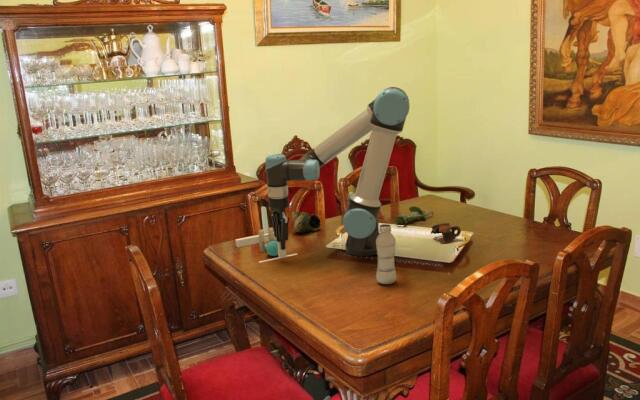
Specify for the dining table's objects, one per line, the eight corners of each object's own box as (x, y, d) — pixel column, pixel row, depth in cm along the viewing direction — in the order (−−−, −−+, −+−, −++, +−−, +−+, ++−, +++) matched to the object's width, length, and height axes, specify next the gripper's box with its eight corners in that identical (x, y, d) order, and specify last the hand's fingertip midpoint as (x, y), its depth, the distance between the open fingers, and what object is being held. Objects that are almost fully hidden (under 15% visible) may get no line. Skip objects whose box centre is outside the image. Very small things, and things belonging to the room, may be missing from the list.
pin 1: (266, 251, 225) (264, 229, 223) (263, 252, 224) (261, 231, 222) (262, 250, 227) (260, 229, 224) (259, 251, 225) (257, 230, 223)
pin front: (273, 248, 223) (265, 243, 231) (269, 247, 222) (260, 242, 230) (272, 253, 223) (263, 247, 231) (267, 252, 222) (259, 246, 230)
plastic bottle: (374, 280, 190) (372, 223, 185) (394, 278, 190) (393, 222, 186) (378, 287, 184) (376, 229, 179) (398, 285, 184) (397, 227, 179)
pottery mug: (432, 245, 223) (428, 225, 225) (435, 248, 232) (431, 229, 234) (462, 238, 220) (457, 218, 222) (464, 242, 228) (460, 222, 231)
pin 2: (275, 249, 227) (274, 227, 225) (272, 250, 226) (270, 229, 224) (271, 248, 228) (270, 227, 226) (268, 249, 227) (267, 228, 225)
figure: (414, 214, 270) (382, 227, 252) (413, 200, 268) (381, 211, 251) (443, 217, 258) (412, 230, 241) (442, 202, 257) (411, 214, 239)
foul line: (296, 253, 220) (296, 253, 220) (297, 254, 219) (297, 254, 219) (258, 262, 213) (258, 261, 213) (259, 263, 212) (259, 262, 212)
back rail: (275, 238, 241) (275, 231, 241) (277, 239, 240) (276, 232, 239) (235, 246, 234) (235, 239, 233) (237, 247, 232) (236, 240, 231)
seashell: (316, 236, 241) (315, 214, 238) (291, 236, 243) (289, 214, 241) (321, 229, 251) (320, 207, 249) (297, 229, 253) (295, 207, 251)
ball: (282, 238, 221) (281, 252, 223) (266, 237, 220) (266, 251, 223) (281, 245, 215) (280, 259, 217) (265, 244, 215) (265, 258, 217)
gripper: (262, 194, 211) (266, 254, 216) (275, 201, 199) (280, 263, 205) (280, 191, 214) (284, 250, 219) (294, 198, 202) (298, 259, 208)
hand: (282, 256), depth 212 cm, fingers closed
